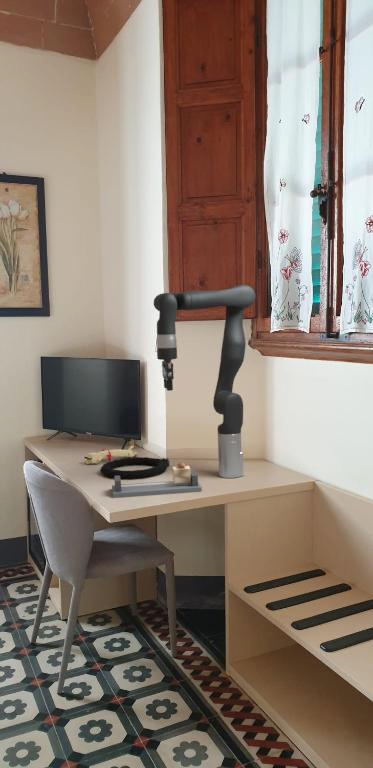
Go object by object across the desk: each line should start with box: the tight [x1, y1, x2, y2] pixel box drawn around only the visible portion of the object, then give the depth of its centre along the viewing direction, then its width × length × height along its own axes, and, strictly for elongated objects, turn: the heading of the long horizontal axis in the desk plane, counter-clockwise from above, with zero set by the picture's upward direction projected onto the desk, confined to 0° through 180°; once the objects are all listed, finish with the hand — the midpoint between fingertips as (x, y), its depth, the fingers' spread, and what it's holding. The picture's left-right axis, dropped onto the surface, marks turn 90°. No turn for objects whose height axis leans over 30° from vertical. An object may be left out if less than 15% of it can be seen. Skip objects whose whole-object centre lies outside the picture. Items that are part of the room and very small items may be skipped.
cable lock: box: [100, 456, 171, 480], centre depth 271 cm, size 28×4×30 cm
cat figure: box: [83, 440, 139, 465], centre depth 292 cm, size 10×9×25 cm
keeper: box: [172, 462, 192, 483], centre depth 241 cm, size 6×5×7 cm
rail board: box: [111, 469, 203, 499], centre depth 240 cm, size 32×12×6 cm, turn 98°
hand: (168, 389), depth 247 cm, fingers open, 8 cm apart
